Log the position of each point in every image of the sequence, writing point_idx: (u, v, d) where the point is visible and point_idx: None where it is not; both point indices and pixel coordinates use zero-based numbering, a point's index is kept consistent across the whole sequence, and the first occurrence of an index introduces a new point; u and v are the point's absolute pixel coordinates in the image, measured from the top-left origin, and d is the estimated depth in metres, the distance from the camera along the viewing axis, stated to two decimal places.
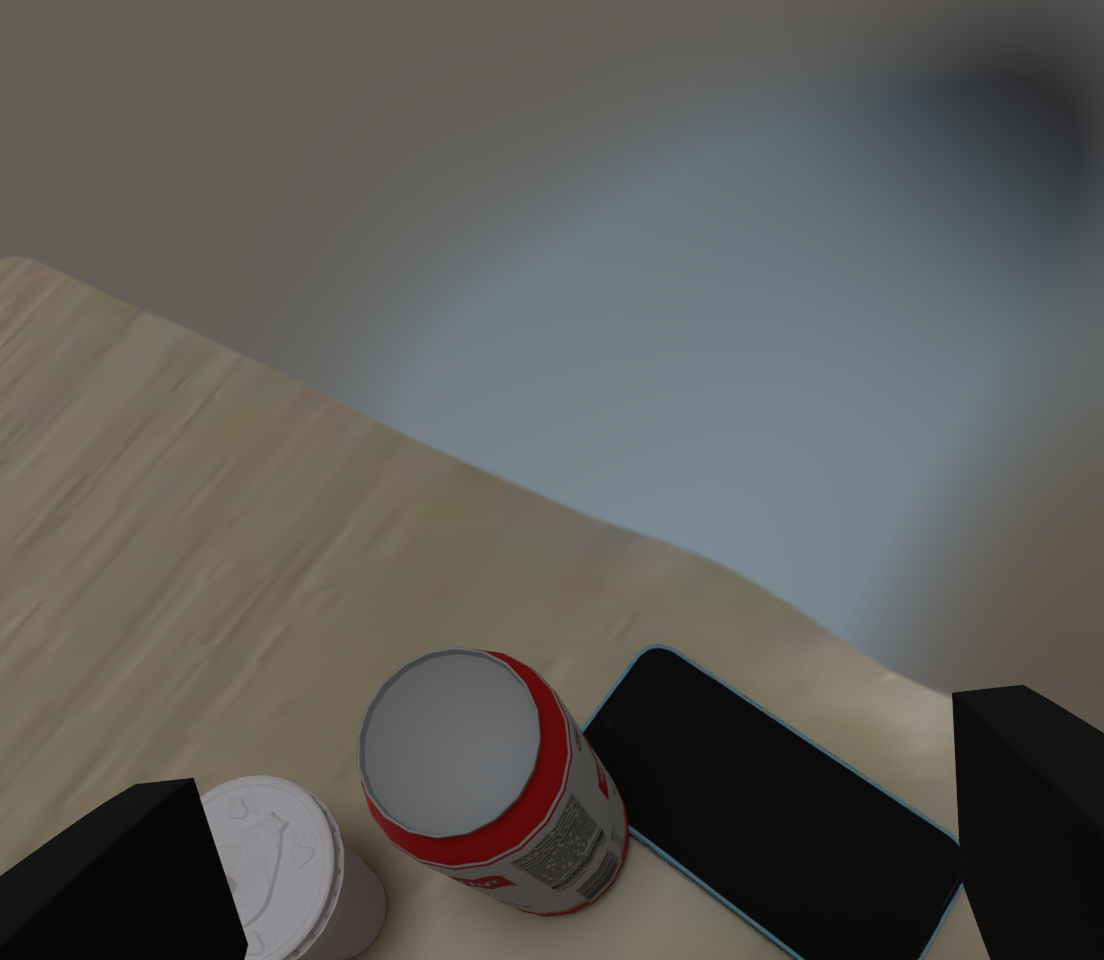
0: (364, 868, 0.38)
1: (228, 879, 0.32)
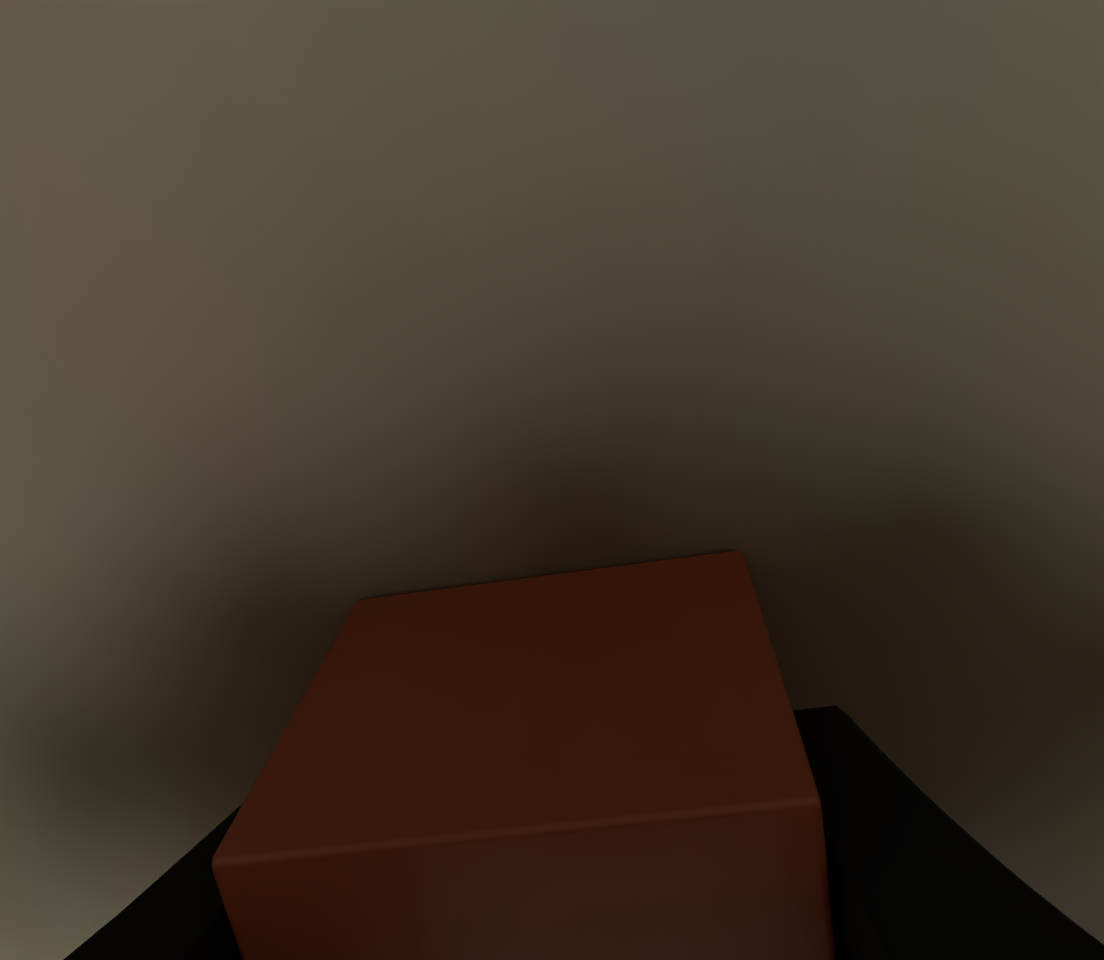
0: None
1: None
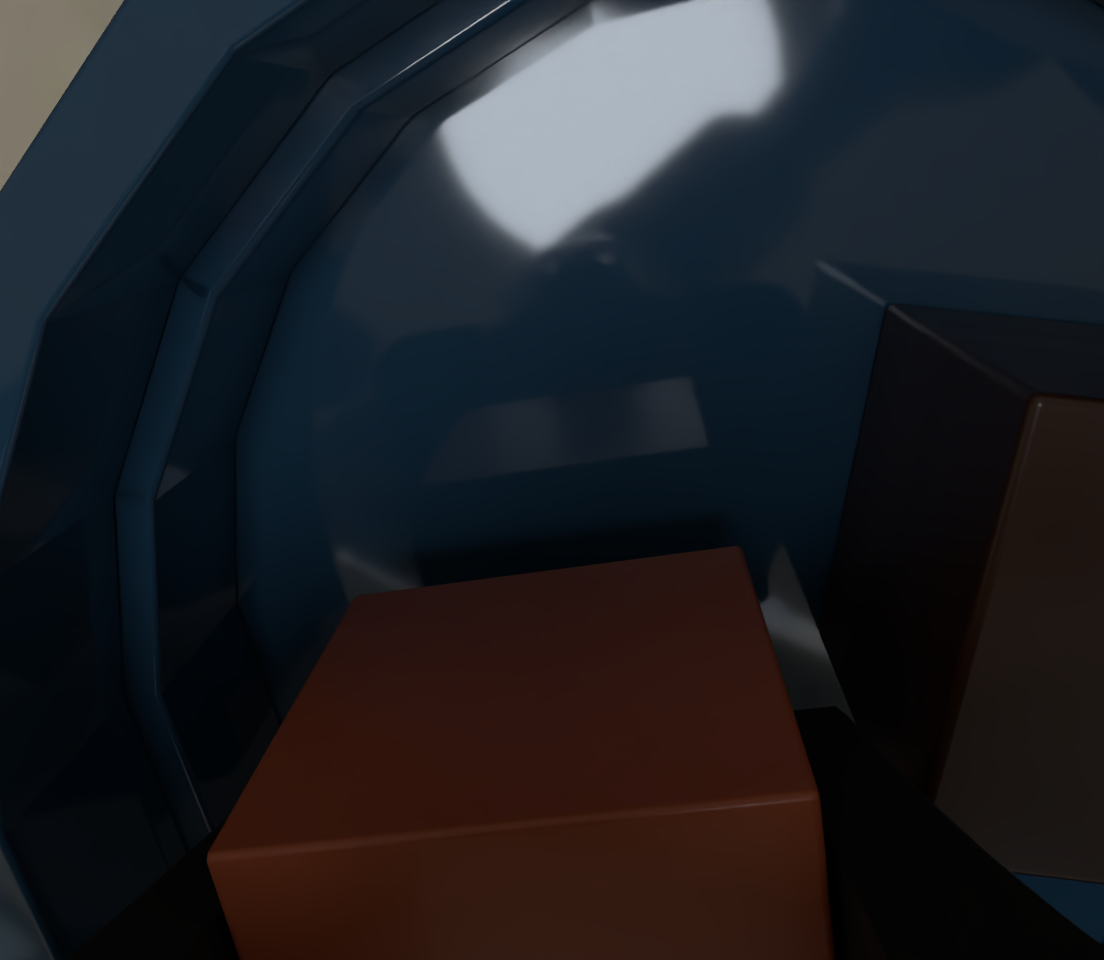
0: None
1: None
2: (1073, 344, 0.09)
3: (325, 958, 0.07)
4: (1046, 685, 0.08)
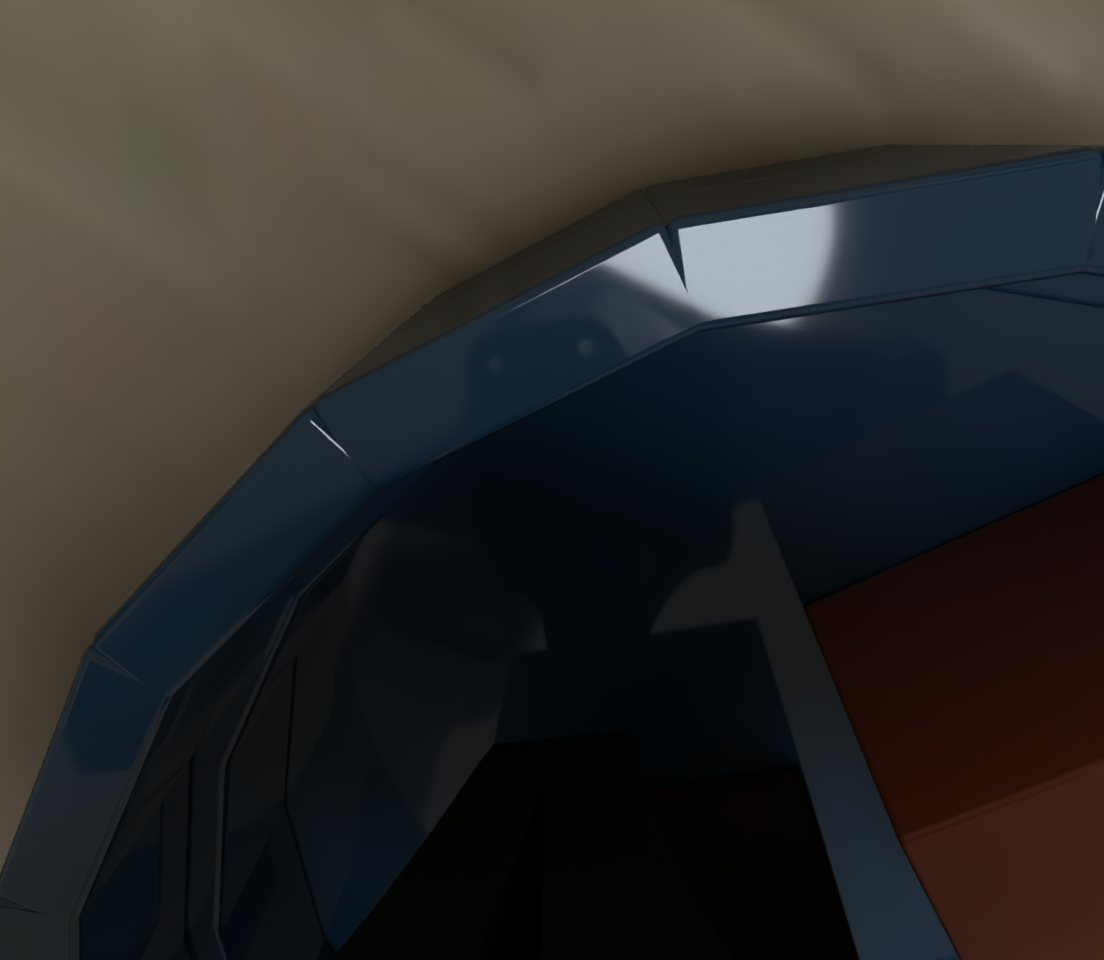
0: None
1: None
2: None
3: None
4: None
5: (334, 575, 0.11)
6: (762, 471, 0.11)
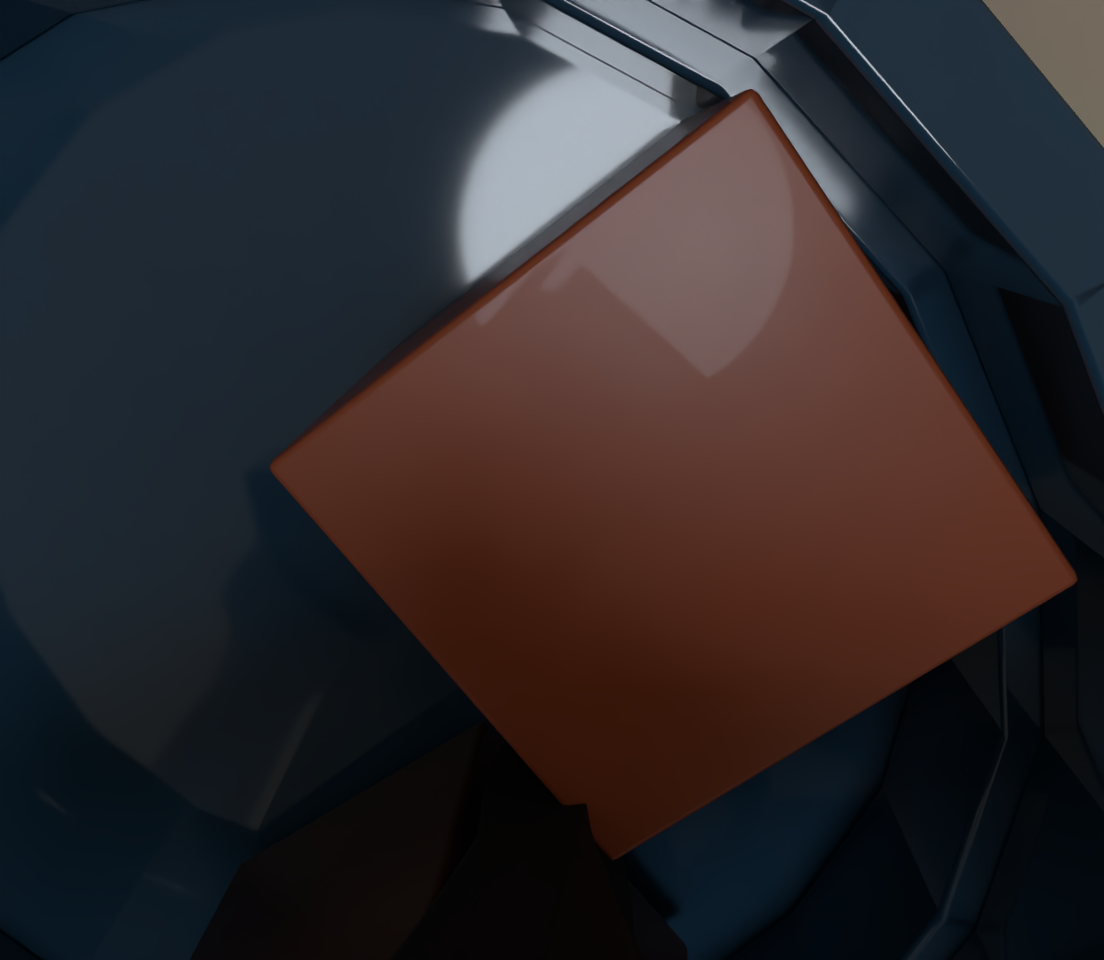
0: None
1: None
2: None
3: (935, 531, 0.07)
4: None
5: None
6: (202, 221, 0.10)
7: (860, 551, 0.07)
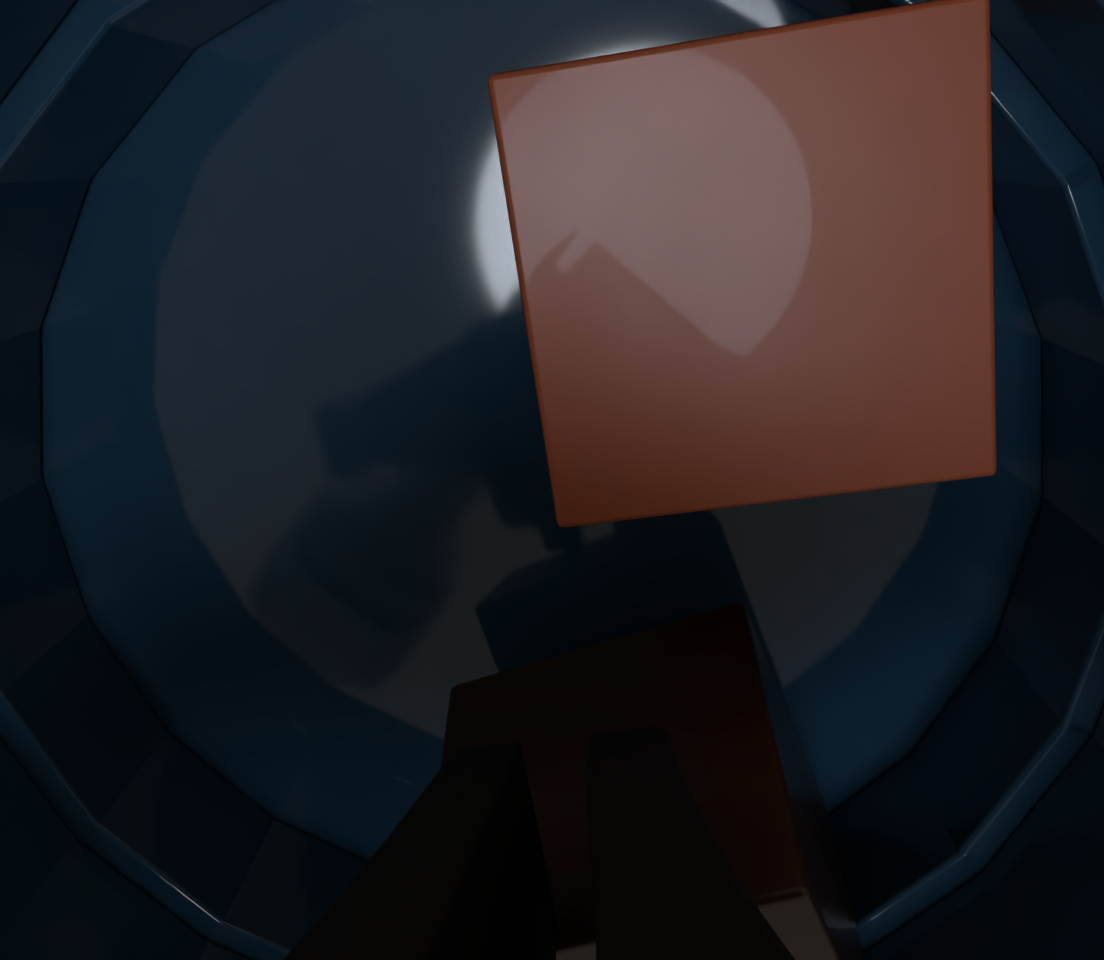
0: None
1: None
2: None
3: (924, 388, 0.09)
4: None
5: (71, 244, 0.13)
6: (440, 136, 0.12)
7: (868, 375, 0.09)
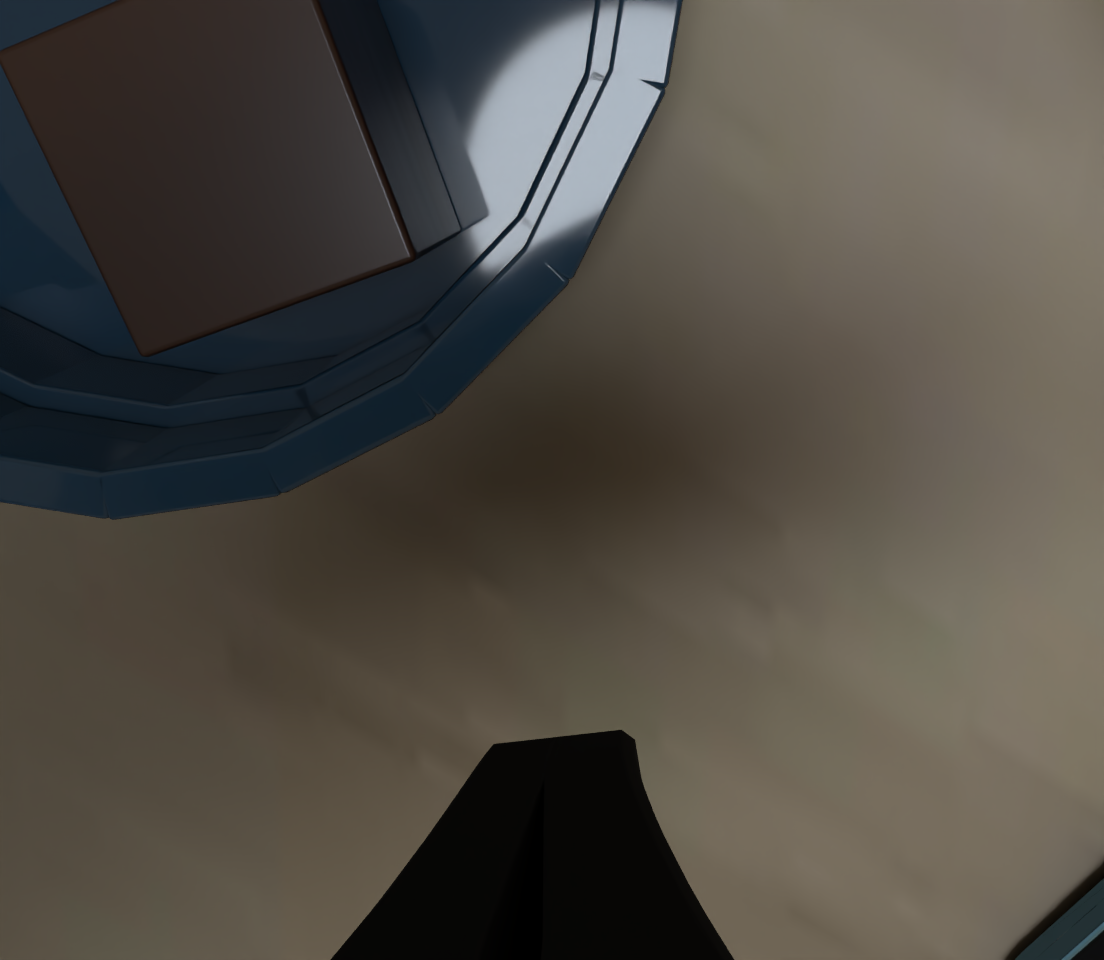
0: None
1: None
2: None
3: None
4: (269, 256, 0.13)
5: None
6: None
7: None
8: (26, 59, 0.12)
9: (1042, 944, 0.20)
